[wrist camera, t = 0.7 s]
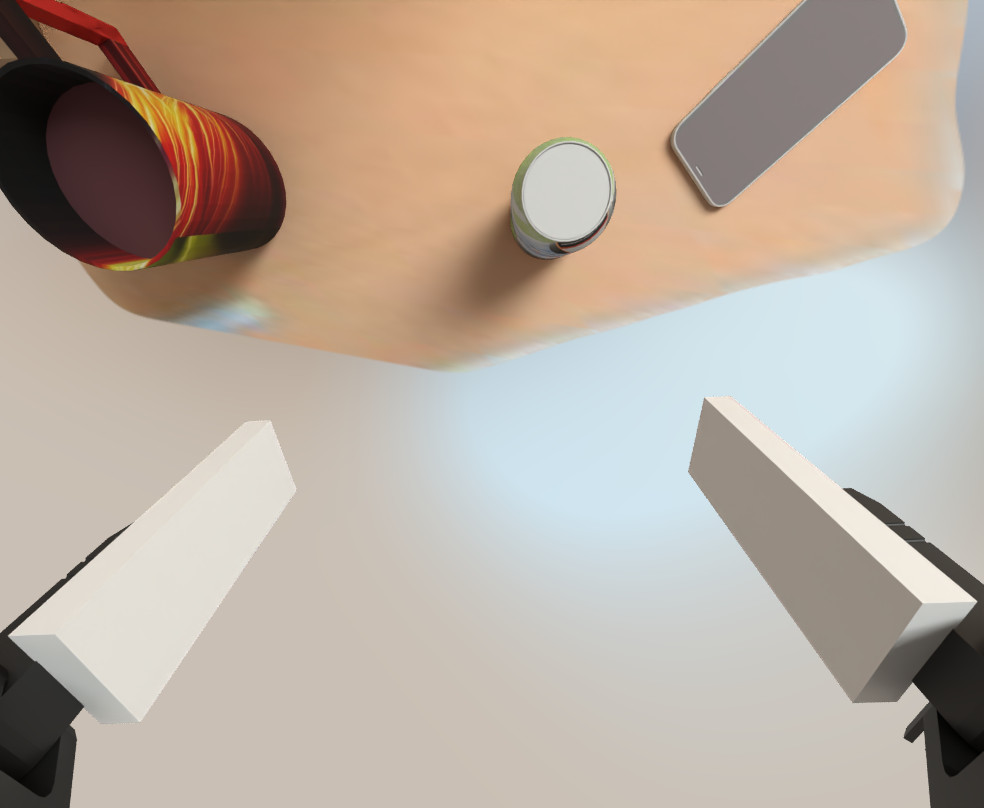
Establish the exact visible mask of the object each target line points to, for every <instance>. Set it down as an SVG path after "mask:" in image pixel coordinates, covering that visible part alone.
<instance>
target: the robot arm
mask: <svg viewBox="0 0 984 808" xmlns="http://www.w3.org/2000/svg"><path fill="white" fill-rule="evenodd" d="M688 472H689V474H690V475H691V477H692V478H693V479H694V481H695V482H696V483H697V485H698V486H699V488H700V489H701V491H702V492H703V493H704V495H705V496H706V498H707V499H708V500H709V502H710V503H711V505H712V506H713V507H714V509H715V510H716V512H717V513H718V514H719V516H720V517H721V519H722V520H723V521H724V523H725V524H726V525H727V527H728V529H729V530H730V531H731V533H732V534H733V536H734V537H735V538H736V540H737V541H738V543H739V544H740V545H741V547H742V548H743V550H744V551H745V552H746V554H747V555H748V557H749V558H750V559H751V561H752V562H753V564H754V565H755V566H756V568H757V569H758V571H759V572H760V573H761V575H762V576H763V578H764V579H765V580H766V582H767V583H768V585H769V586H770V587H771V589H772V590H773V592H774V593H775V594H776V596H777V597H778V599H779V600H780V601H781V603H782V604H783V606H784V607H785V609H786V610H787V611H788V613H789V614H790V616H791V617H792V618H793V620H794V621H795V623H796V624H797V625H798V627H799V628H800V629H801V631H802V632H803V633H804V635H805V637H806V638H807V639H808V641H809V642H810V644H811V645H812V646H813V648H814V649H815V651H816V652H817V653H818V655H819V656H820V658H821V659H822V660H823V662H824V663H825V665H826V666H827V667H828V669H829V670H830V672H831V673H832V674H833V676H834V677H835V679H836V680H837V681H838V683H839V684H840V686H841V687H842V688H843V690H844V691H845V693H846V694H847V695H848V697H849V698H850V700H851V701H852V702H853V703H865V702H897V701H898V700H899V699H900V697H901V696H902V695H903V694H904V692H905V691H906V690H907V689H908V687H909V686H910V685H911V684H912V682H913V683H914V684H915V685H916V686H917V688H918V689H919V690H920V691H921V692H922V693H923V694H924V695H925V697H926V698H927V699H928V700H929V701H930V702H929V703H928V704H927V705H926V706H925V707H924V708H923V710H922V711H921V712H920V713H919V714H918V715H917V716H916V718H915V719H914V720H913V721H912V722H911V723H910V724H909V725H908V727H907V728H906V731H905V734H904V739H906V740H908V741H910V742H911V743H913V742H914V740H915V739H916V738H917V737H918V736H919V735H920V734H921V733H922V732H923V731H924V735H925V747H926V749H925V750H926V758H927V770H928V782H929V794H930V806H931V808H984V585H983V584H982V583H981V582H980V581H978V580H977V579H976V578H975V577H973V576H972V575H971V574H970V573H968V572H967V571H966V570H964V569H963V568H962V567H960V566H959V565H958V564H957V563H955V562H954V561H953V560H952V559H950V558H949V557H948V556H947V555H945V554H944V553H943V552H942V551H940V550H939V549H938V548H936V547H935V546H934V545H933V544H931V543H926V542H925V538H924V537H922V536H921V535H920V534H919V533H917V532H916V531H915V530H914V529H912V528H911V527H910V526H905V524H904V522H903V521H902V520H901V519H900V518H898V517H897V516H896V515H894V514H893V513H892V512H891V511H889V510H888V509H887V508H886V507H884V506H883V505H882V504H880V503H879V502H877V501H875V500H873V499H871V498H869V497H867V496H865V495H863V494H861V493H860V492H857V491H856V490H854V489H852V488H844V489H842V488H841V487H839V486H838V485H837V484H836V483H834V482H833V481H832V480H831V479H830V478H828V477H827V476H826V475H825V474H824V473H822V472H821V471H820V470H819V469H817V468H816V467H815V466H814V465H813V464H812V463H810V462H809V461H808V460H807V459H806V458H804V457H803V456H802V455H801V454H800V453H798V452H797V451H796V450H795V449H794V448H792V447H791V446H790V445H789V444H788V443H786V442H785V441H784V440H783V439H782V438H780V437H779V436H778V435H777V434H776V433H774V432H773V431H772V430H771V429H770V428H768V427H767V426H766V425H765V424H764V423H762V422H761V421H760V420H759V419H758V418H756V417H755V416H754V415H753V414H752V413H750V412H749V411H748V410H747V409H746V408H744V407H743V406H742V405H740V403H738V402H737V401H736V400H735V399H734V398H732V397H731V396H723V397H705V398H704V401H703V406H702V411H701V415H700V420H699V424H698V429H697V434H696V438H695V443H694V447H693V452H692V457H691V461H690V466H689V470H688ZM296 491H297V490H296V487H295V484H294V482H293V479H292V476H291V474H290V471H289V468H288V466H287V463H286V461H285V458H284V455H283V452H282V450H281V447H280V445H279V442H278V439H277V437H276V434H275V431H274V429H273V426H272V423H271V421H270V420H266V421H247V422H245V423H244V424H243V425H241V426H240V427H239V428H238V429H237V430H236V431H235V432H234V433H233V434H232V435H231V436H229V437H228V438H227V439H226V440H225V441H224V442H223V443H222V444H221V445H219V446H218V447H217V448H216V449H215V450H214V451H213V452H212V453H210V454H209V455H208V456H207V457H206V458H205V459H204V460H203V461H202V462H201V463H199V464H198V465H197V466H196V467H195V468H194V469H193V470H192V471H191V472H189V473H188V474H187V475H186V476H185V477H184V478H183V479H182V480H180V481H179V482H178V483H177V484H176V485H175V486H174V487H173V488H172V489H171V490H169V491H168V492H167V493H166V494H165V495H164V496H163V497H162V498H161V499H159V500H158V501H157V502H156V503H155V504H154V505H153V506H152V507H150V508H149V509H148V510H147V511H146V512H145V513H144V514H143V515H142V516H141V517H139V518H138V519H137V520H136V521H135V522H133V523H132V524H130V525H128V526H127V527H125V528H124V529H122V530H120V531H119V532H117V533H116V534H114V535H112V536H111V537H109V538H108V539H107V540H105V542H103V543H102V544H101V545H100V546H99V547H98V548H96V549H95V550H94V551H93V552H92V553H91V554H89V555H88V556H87V557H86V560H85V562H80V563H79V564H78V565H77V566H76V567H75V568H74V569H72V570H71V571H70V572H69V573H68V574H67V577H66V579H61V580H60V581H59V582H58V583H57V584H56V585H54V586H53V587H52V588H51V589H50V590H49V591H48V592H46V593H45V594H44V595H43V596H42V597H41V598H40V599H39V600H37V601H36V602H35V603H34V604H33V605H32V606H31V607H30V608H28V609H27V610H26V611H25V612H24V613H23V614H21V615H20V616H19V617H18V618H17V619H16V620H15V621H14V622H12V623H11V624H10V625H9V626H8V627H7V628H6V629H4V630H3V631H2V632H1V633H0V808H69V807H70V798H71V788H72V779H73V770H74V760H75V751H76V742H77V738H76V734H75V730H74V729H73V728H72V727H71V726H70V724H71V722H72V721H73V720H74V719H75V717H76V716H77V715H78V714H79V712H80V711H81V710H82V708H85V709H86V710H87V711H88V712H89V713H90V714H91V715H92V716H93V717H94V718H95V719H96V720H97V721H98V722H99V723H100V724H114V723H115V724H116V723H140V722H141V721H142V719H143V718H144V716H145V715H146V713H147V712H148V710H149V709H150V707H151V706H152V704H153V703H154V701H155V700H156V698H157V697H158V695H159V694H160V692H161V691H162V689H163V688H164V687H165V685H166V683H167V682H168V681H169V679H170V677H171V676H172V675H173V673H174V672H175V670H176V669H177V667H178V666H179V664H180V663H181V661H182V659H183V658H184V657H185V655H186V654H187V652H188V651H189V649H190V648H191V646H192V645H193V643H194V642H195V641H196V639H197V638H198V636H199V635H200V633H201V632H202V630H203V629H204V627H205V626H206V624H207V623H208V621H209V620H210V618H211V616H212V615H213V614H214V612H215V611H216V609H217V608H218V606H219V605H220V603H221V602H222V600H223V599H224V597H225V596H226V595H227V593H228V591H229V590H230V589H231V587H232V586H233V584H234V583H235V581H236V580H237V578H238V577H239V575H240V573H241V572H242V571H243V569H244V568H245V566H246V565H247V563H248V562H249V560H250V559H251V557H252V556H253V554H254V553H255V551H256V550H257V549H258V547H259V545H260V544H261V543H262V541H263V540H264V538H265V537H266V535H267V534H268V532H269V531H270V529H271V528H272V526H273V525H274V523H275V522H276V520H277V519H278V517H279V516H280V514H281V513H282V511H283V510H284V508H285V507H286V505H287V504H288V503H289V501H290V500H291V498H292V497H293V495H294V493H295V492H296Z"/></svg>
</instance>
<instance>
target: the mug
mask: <svg viewBox="0 0 984 808" xmlns="http://www.w3.org/2000/svg"><path fill="white" fill-rule="evenodd" d="M29 18H31V19H34V20H36V21H39V22H41V23H43V24H46V25H48V26H51V27H53V28H56V29H58V30H61V31H63V32H66V33H68V34H70V35H73V36H75V37H78V38H80V39H83V40H85V41H88V42H90V43H93V44H95V45H97V46H99V48H100V49H101V50H102V52H103V53H104V54H105V56H106V57H107V59H108V60H109V61H110V63H111V64H112V65H113V67H114V68H115V70H116V71H117V72H118V74H119V75H120V76H121V78H122V79H123V80H124V81H121V80H118V79H115V78H112V77H109V76H106V75H104V74H101V73H98V72H95V71H92V70H89V69H86V68H83V67H80V66H77V65H74V64H71V63H68V62H65V61H62V60H61V59H60V57H59V56H58V55H57V53H56V52H55V51H54V50H53V48H52V47H51V46H50V44H49V43H48V42H47V40H46V39H45V38H44V37H43V35H42V34H41V33H40V31H39V30H38V29H37V28H36V26H35V25H34V24H33V22H32V21H31V20H30V19H29ZM0 38H1V39H2V40H3V41H4V42H5V44H6V45H7V46H8V47H9V49H10V50H11V51H12V52H13V54H14V55H15V56H16V57H17V58H18V60H15V61H11V62H8V63H6V64H5V65H4V66H2V67H1V68H0V189H1V190H2V192H3V193H4V195H5V196H6V197H7V199H8V200H9V202H10V203H11V205H12V206H13V207H14V209H15V210H16V211H17V212H18V213H19V214H20V215H21V217H22V218H23V219H24V220H25V221H26V222H27V223H28V224H29V225H30V226H31V227H32V228H33V229H34V230H35V231H36V232H38V233H39V234H40V235H41V236H42V237H43V238H44V239H45V240H47V241H48V242H50V243H51V244H53V245H54V246H55V247H57V248H58V249H60V250H61V251H63V252H64V253H66V254H68V255H70V256H72V257H74V258H76V259H78V260H80V261H82V262H84V263H87V264H90V265H93V266H96V267H98V268H103V269H109V270H115V271H133V270H139V269H144V268H150V267H156V266H161V265H167V264H172V263H178V262H184V261H189V260H195V259H200V258H206V257H212V256H217V255H223V254H228V253H234V252H240V251H245V250H250V249H254V248H258V247H260V246H262V245H264V244H266V243H268V242H269V241H270V240H271V239H272V238H273V237H274V236H275V235H276V233H277V232H278V230H279V229H280V227H281V225H282V222H283V219H284V217H285V209H286V192H285V187H284V183H283V178H282V176H281V173H280V171H279V168H278V166H277V164H276V162H275V160H274V158H273V157H272V155H271V153H270V151H269V150H268V149H267V148H266V146H265V145H264V144H263V143H262V141H261V140H260V139H259V138H258V137H257V136H256V135H255V134H253V133H252V132H251V131H250V130H249V129H248V128H246V127H245V126H243V125H242V124H240V123H239V122H237V121H236V120H233V119H231V118H229V117H227V116H224V115H222V114H219V113H216V112H213V111H210V110H207V109H204V108H201V107H198V106H195V105H192V104H189V103H186V102H183V101H180V100H177V99H174V98H171V97H169V96H166V95H163V94H161V93H160V91H159V90H158V88H157V87H156V86H155V84H154V83H153V81H152V80H151V78H150V77H149V76H148V74H147V73H146V71H145V70H144V68H143V67H142V66H141V64H140V63H139V61H138V60H137V59H136V57H135V56H134V54H133V53H132V51H131V50H130V49H129V47H128V45H127V44H126V42H125V41H124V39H123V38H122V36H121V35H120V33H119V31H118V30H117V29H116V28H115V27H113V26H111V25H109V24H107V23H104V22H102V21H100V20H98V19H96V18H94V17H92V16H90V15H88V14H85V13H83V12H81V11H79V10H77V9H75V8H73V7H71V6H69V5H66V4H64V3H62V2H60V3H59V2H57V1H55V0H0Z"/></svg>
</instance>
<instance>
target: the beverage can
mask: <svg viewBox="0 0 984 808" xmlns="http://www.w3.org/2000/svg"><path fill="white" fill-rule="evenodd" d="M615 202H616V182H615V177H614V174H613V170H612V168H611V166H610V164H609V162H608V160H607V159H606V157H605V156H604V154H603V153H602V152H601V151H600V150H599V149H598V148H596V147H595V146H593V145H592V144H590V143H589V142H587V141H584V140H581V139H578V138H572V137H562V138H557V139H553V140H550V141H548V142H545V143H543V144H541V145H540V146H538V147H537V148H536V149H534V150H533V151H532V152H531V153H530V154H529V155H528V156H527V157H526V158H525V160H524V161H523V162H522V164H521V165H520V167H519V169H518V171H517V173H516V175H515V178H514V182H513V185H512V191H511V230H512V234H513V236H514V239H515V241H516V242H517V244H518V245H519V247H520V248H521V249H522V250H523V251H524V252H525V253H527V254H528V255H530V256H532V257H535V258H537V259H543V260H551V259H555V258H559V257H562V256H564V255H567V254H570V253H573V252H576V251H578V250H581V249H583V248H585V247H586V246H588V245H589V244H591V243H592V242H593V241H594V240H595V239H597V238H598V237H599V235H600V234H601V233H602V232H603V231H604V229H605V228H606V226H607V224H608V223H609V221H610V218H611V216H612V213H613V210H614V206H615Z"/></svg>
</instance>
